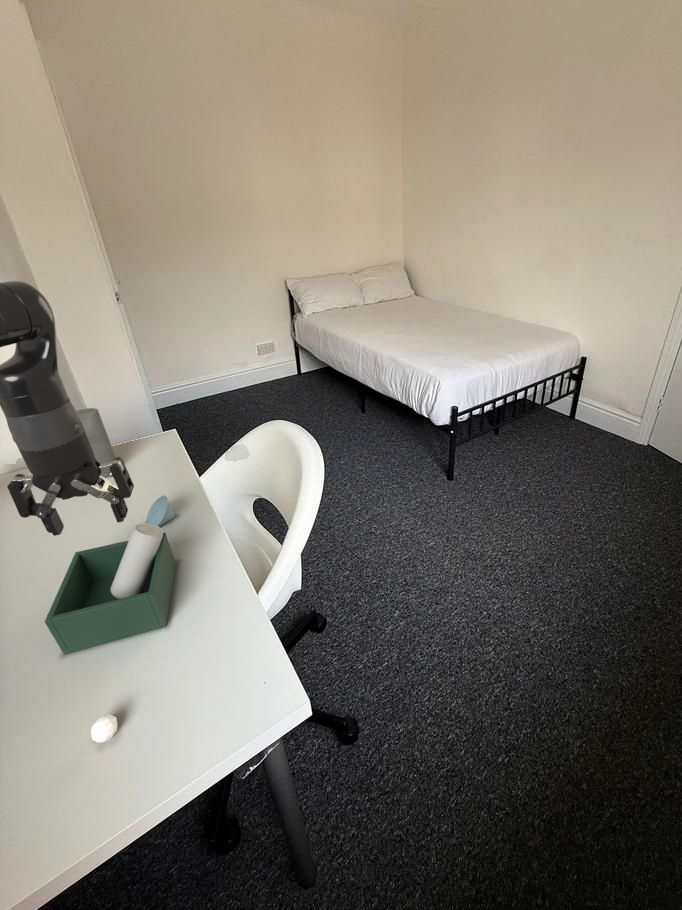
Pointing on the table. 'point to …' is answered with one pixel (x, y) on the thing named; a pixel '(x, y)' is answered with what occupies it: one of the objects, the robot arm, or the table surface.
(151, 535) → the beverage can
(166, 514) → the gemstone
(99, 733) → the polyhedron
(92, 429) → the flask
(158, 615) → the bin
